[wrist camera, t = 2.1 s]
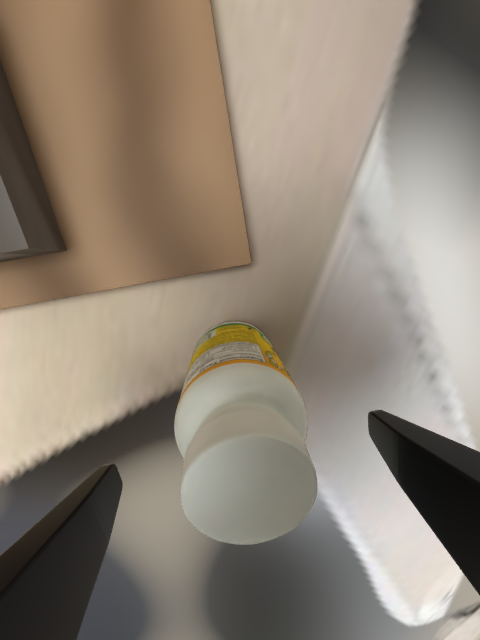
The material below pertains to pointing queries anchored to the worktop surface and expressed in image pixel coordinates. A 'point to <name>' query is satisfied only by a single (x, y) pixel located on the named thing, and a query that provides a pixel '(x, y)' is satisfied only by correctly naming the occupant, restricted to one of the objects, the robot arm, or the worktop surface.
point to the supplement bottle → (242, 439)
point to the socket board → (112, 148)
